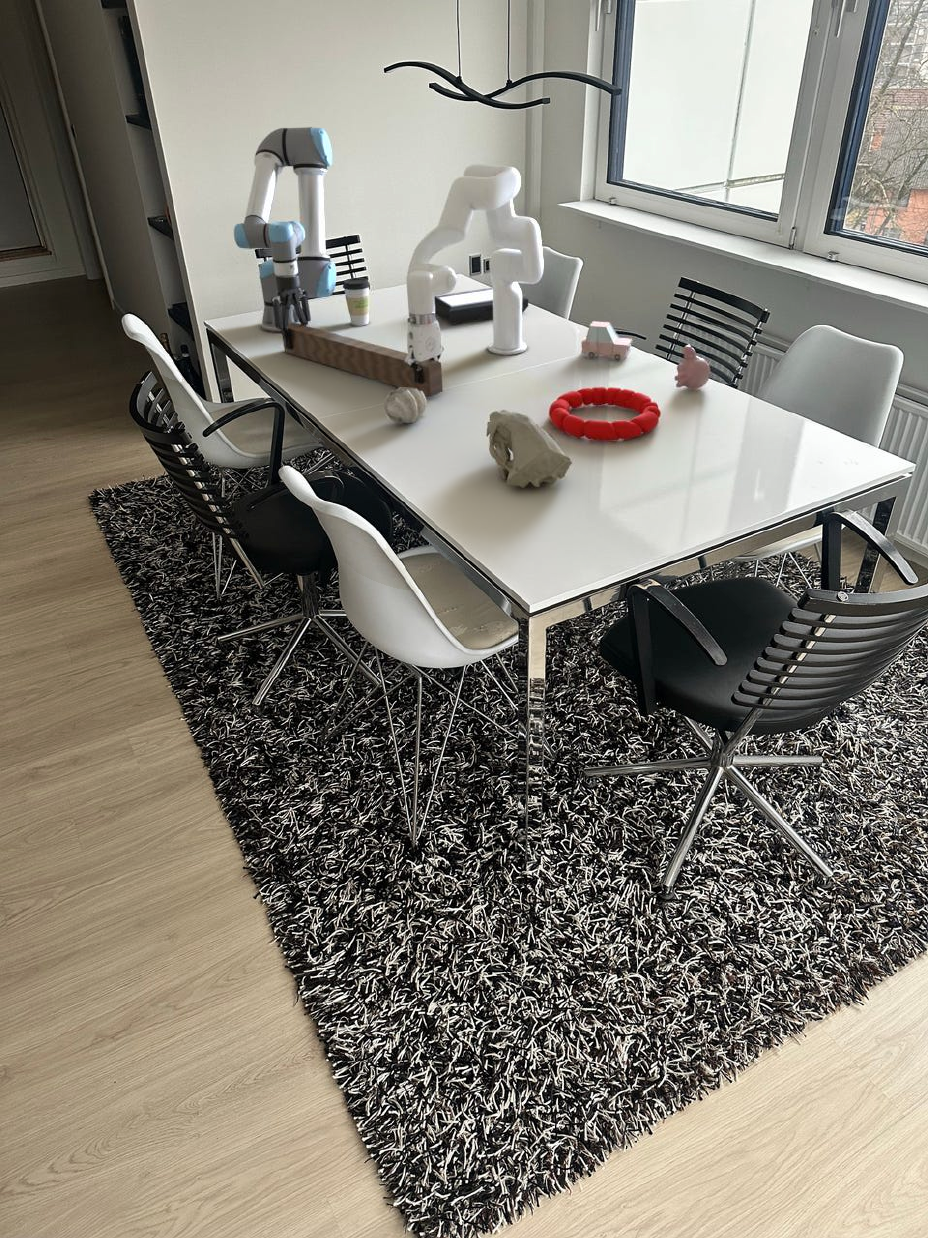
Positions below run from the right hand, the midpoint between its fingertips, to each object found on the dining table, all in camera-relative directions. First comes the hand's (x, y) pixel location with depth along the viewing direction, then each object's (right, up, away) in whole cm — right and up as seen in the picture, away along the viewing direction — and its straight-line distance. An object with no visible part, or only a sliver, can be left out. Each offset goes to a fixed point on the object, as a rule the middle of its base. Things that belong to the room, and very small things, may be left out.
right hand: (426, 379), depth 262 cm
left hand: (-45, +21, +38) cm, 63 cm away
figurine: (+78, -3, 0) cm, 78 cm away
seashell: (-4, -16, -15) cm, 22 cm away
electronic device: (+16, +43, +71) cm, 85 cm away
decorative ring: (+50, -17, -18) cm, 55 cm away
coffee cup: (-27, +38, +65) cm, 80 cm away
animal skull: (+25, -34, -42) cm, 60 cm away
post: (-22, +8, +20) cm, 31 cm away
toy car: (+57, +15, +27) cm, 65 cm away
